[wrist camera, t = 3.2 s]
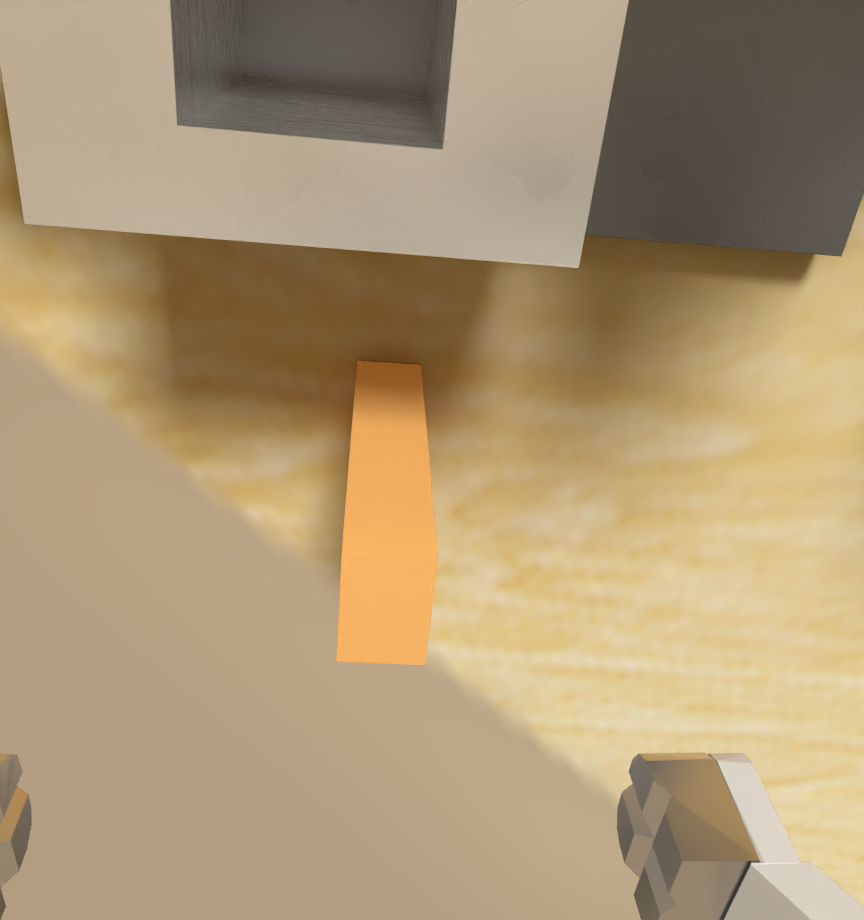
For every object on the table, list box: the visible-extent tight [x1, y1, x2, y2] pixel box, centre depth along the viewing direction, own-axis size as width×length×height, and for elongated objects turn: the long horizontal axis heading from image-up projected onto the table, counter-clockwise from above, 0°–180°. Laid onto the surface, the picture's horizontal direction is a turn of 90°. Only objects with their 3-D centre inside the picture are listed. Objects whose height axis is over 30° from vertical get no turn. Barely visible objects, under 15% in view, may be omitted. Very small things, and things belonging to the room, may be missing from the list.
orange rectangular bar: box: [336, 360, 438, 665], centre depth 18 cm, size 2×2×8 cm
